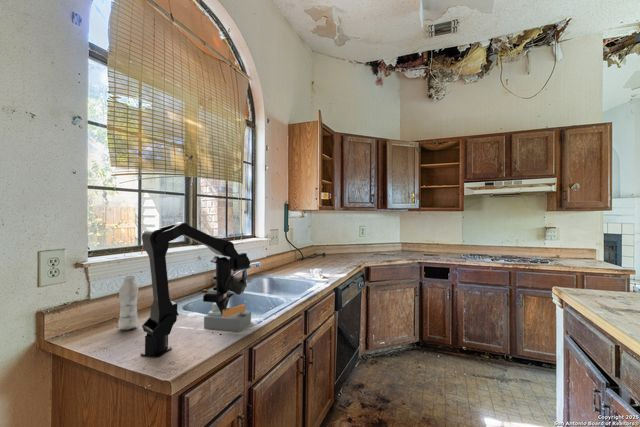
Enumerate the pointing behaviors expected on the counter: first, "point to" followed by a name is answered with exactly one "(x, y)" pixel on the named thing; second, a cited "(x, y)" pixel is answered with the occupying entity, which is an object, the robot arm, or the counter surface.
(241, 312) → the orange square pillar
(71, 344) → the counter surface
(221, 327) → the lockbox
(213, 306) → the cover
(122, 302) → the plastic bottle
